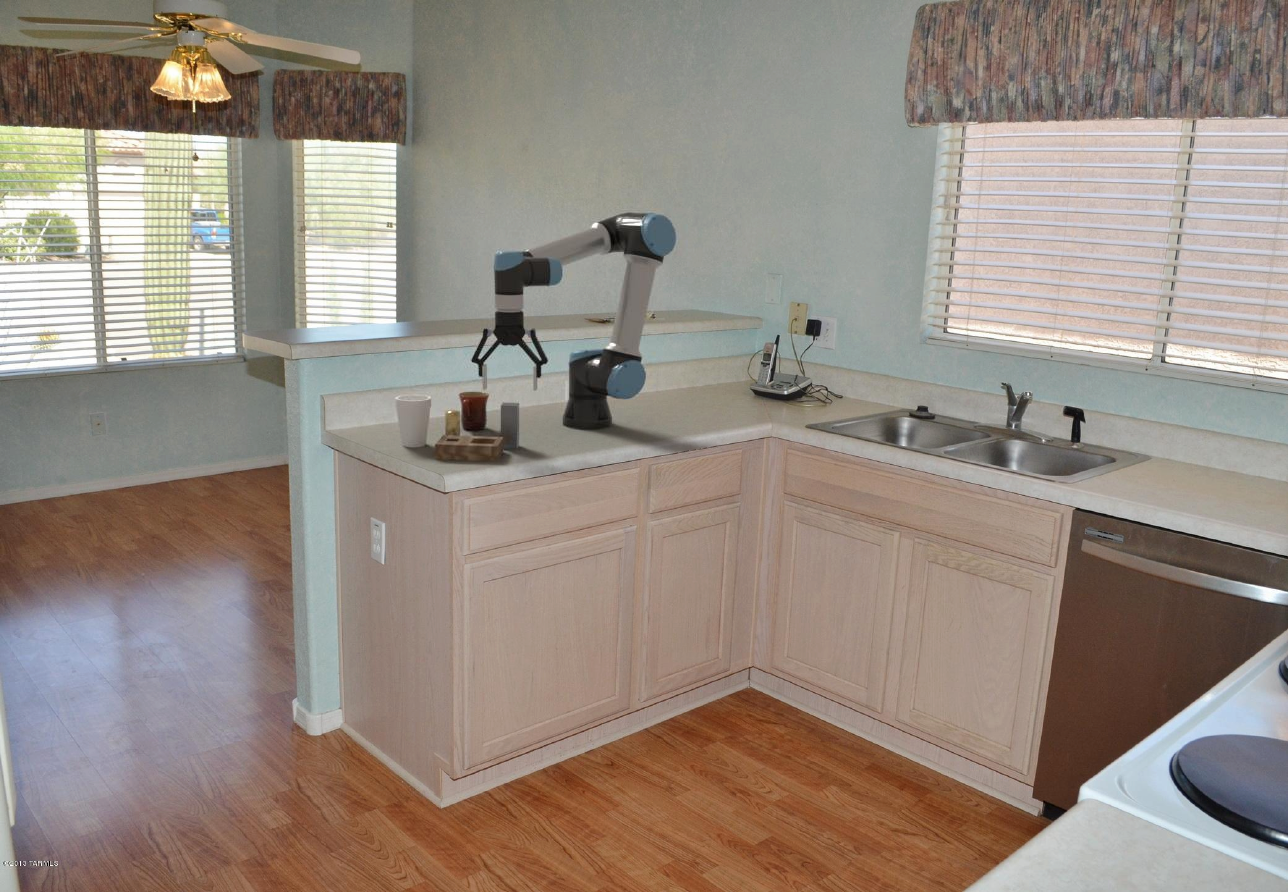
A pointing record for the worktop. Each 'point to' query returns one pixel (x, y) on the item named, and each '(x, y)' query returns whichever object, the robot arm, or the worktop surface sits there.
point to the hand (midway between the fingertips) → (510, 389)
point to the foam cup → (413, 419)
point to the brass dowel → (452, 422)
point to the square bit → (510, 425)
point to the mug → (473, 410)
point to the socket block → (469, 448)
